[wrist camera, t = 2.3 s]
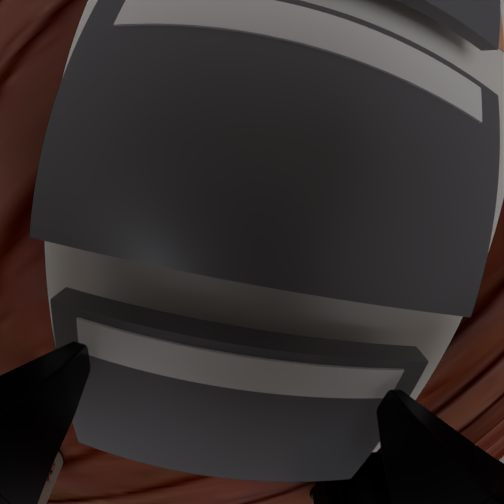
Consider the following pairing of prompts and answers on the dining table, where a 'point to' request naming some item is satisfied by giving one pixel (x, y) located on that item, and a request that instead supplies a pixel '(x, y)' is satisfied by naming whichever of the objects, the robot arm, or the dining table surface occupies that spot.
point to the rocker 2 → (227, 392)
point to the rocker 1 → (273, 152)
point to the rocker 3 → (465, 18)
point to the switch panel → (280, 301)
